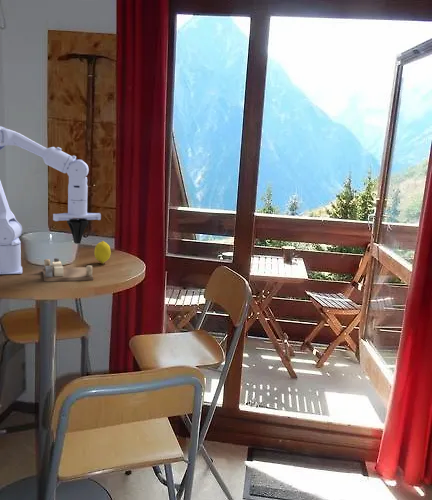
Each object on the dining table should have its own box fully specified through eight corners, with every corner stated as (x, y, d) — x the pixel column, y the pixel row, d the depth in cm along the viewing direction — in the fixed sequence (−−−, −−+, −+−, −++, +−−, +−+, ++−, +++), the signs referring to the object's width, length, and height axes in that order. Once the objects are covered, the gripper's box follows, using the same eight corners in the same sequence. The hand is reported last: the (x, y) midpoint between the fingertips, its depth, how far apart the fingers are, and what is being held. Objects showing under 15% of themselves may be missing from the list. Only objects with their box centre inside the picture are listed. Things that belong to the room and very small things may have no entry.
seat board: (44, 281, 143) (44, 268, 142) (42, 271, 154) (42, 259, 153) (93, 279, 148) (93, 267, 148) (88, 270, 159) (88, 258, 159)
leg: (52, 268, 154) (52, 258, 153) (60, 268, 155) (60, 258, 154) (54, 276, 145) (54, 265, 144) (63, 276, 146) (63, 265, 145)
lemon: (106, 266, 167) (107, 243, 165) (91, 264, 168) (91, 241, 166) (112, 262, 172) (113, 240, 170) (98, 260, 173) (98, 238, 171)
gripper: (94, 198, 157) (94, 239, 160) (49, 198, 148) (49, 241, 151) (104, 200, 152) (102, 243, 154) (57, 201, 143) (57, 246, 146)
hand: (77, 243), depth 152 cm, fingers closed
